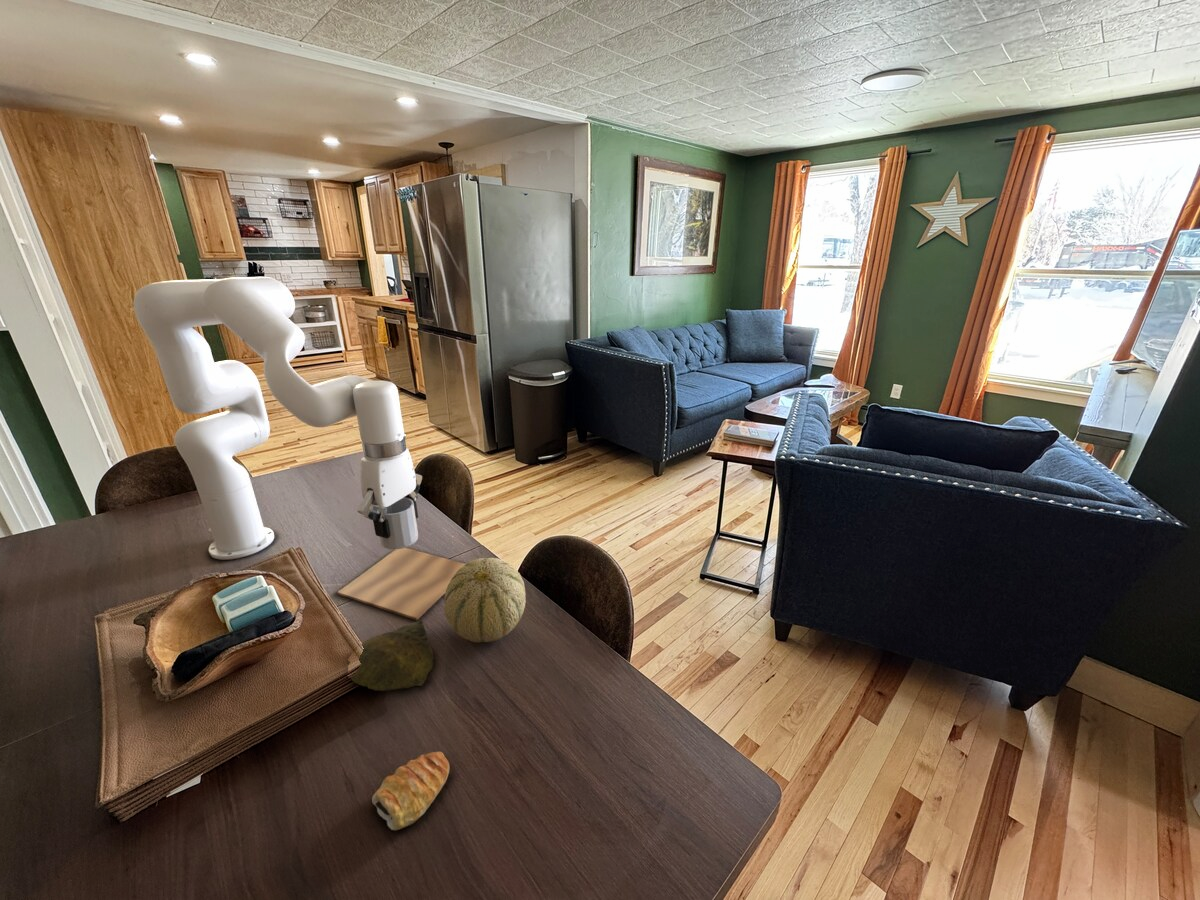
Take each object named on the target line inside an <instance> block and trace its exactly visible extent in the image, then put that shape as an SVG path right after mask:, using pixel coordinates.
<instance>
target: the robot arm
mask: <svg viewBox="0 0 1200 900" xmlns="http://www.w3.org/2000/svg"><path fill="white" fill-rule="evenodd" d="M295 309H296V301H295V298H294V296H293V293H292V292H291V291H290V290H289V288H288V287H287V286H286V285H285V284H284V283H282V282H281V281H280V280H277V279H275V278H273V277H269V276H247V277H246V276H244V277H228V278H220V279H219V278H215V279H179V280H178V279H177V280H165V281H164V280H163V281H158V282H157V281H156V282H151V283H149V284H145V285H144V286H142V287H140V288H139V289H138V290H137V291H136V293H135V294H134V298H133V312H134V315H135V318H136V320H137V322H138V324H139V326H140V327H141V329H142V331H143V333H144V334H145V335H146V337H147V339H148V340H149V342H150V344H151V345H152V347H153V350H154V352H155V355H156V358H157V362H158V365H159V368H160V370H161V374H162V377H163V380H164V383H165V386H166V389H167V391H168V394H169V397H170V399H171V402H172V404H173V405H174V407H175V408H176V409H177V410H178V411H179V412H181V413H184V414H186V415H199V414H200V415H201V414H205V413H208V412H212V411H216V410H219V409H223V408H227V407H228V409H229V410H225V411H221V412H218V413H214V414H210V415H207V416H203V417H201V418H197V419H193V420H191V421H189V422H187V423H185V424H183V425H182V426H181V427H179V428H178V429H177V430H176V432H175V434H174V436H173V437H174V438H173V439H174V445H175V447H176V449H177V451H178V453H179V455H180V456H181V458H182V459H183V461H184V463H185V464H186V466H187V468H188V470H189V472H190V474H191V477H192V479H193V482H194V484H195V487H196V490H197V493H198V496H199V499H200V502H201V505H202V508H203V510H204V511H203V512H204V514H205V517H206V520H207V523H208V526H209V528H208V530H207V532H208V533H210V534H211V535H212V537H213V541H212V543H211V544H210V545H209V547H208V553H209V555H210V557H212V558H213V559H216V560H222V561H223V560H225V561H226V560H228V561H229V560H236V559H241V558H245V557H248V556H251V555H254V554H256V553H258V552H260V551H262V550H264V549H265V548H267V547H269V546H270V545H271V544H272V543H273V541H274V539H275V533H274V531H273V530H272V529H271V528H269V527H266V526H265V525H264V523H263V519H262V516H261V512H260V508H259V506H258V502H257V498H256V495H255V491H254V487H253V484H252V480H251V478H250V475H249V472H248V470H247V469H246V468H245V467H244V466H243V465H241V464H239V463H238V462H236V460H234V459H233V457H235V456H236V455H239V454H240V453H243V452H245V451H247V450H250V449H253V448H255V447H258V446H260V445H262V444H264V443H265V442H266V441H267V440H268V439H269V437H270V433H271V426H270V421H269V417H268V413H267V408H266V405H265V400H264V396H263V393H262V387H261V385H260V382H259V378H257V375H256V374H255V372H254V371H253V370H252V369H251V368H250V367H249V366H248V365H247V364H246V363H244V362H242V361H239V360H234V359H226V360H220V361H216V362H215V360H214V357H213V354H212V349H211V346H210V344H209V342H207V340H206V339H205V337H203V336H202V334H200V333H199V332H198V331H197V330H196V329H194V328H196V327H197V328H198V327H205V326H216V325H222V324H223V325H224V326H225V327H226V328H227V329H229V330H230V331H231V332H232V333H233V334H234V335H235V336H236V337H238V338H239V340H241V341H242V342H243V343H244V344H245V345H247V346H248V347H249V348H250V349H251V350H252V351H253V352H254V353H256V354H257V355H258V356H259V357H260V358H261V359H262V360H263V374H264V378H265V382H266V384H267V386H268V388H269V391H270V393H271V395H272V396H273V397H274V399H275V401H277V402H278V403H279V404H280V405H281V406H282V407H283V408H284V409H286V410H287V411H288V412H289V413H290V414H291V415H293V416H294V417H295V418H297V419H298V420H299V421H300V422H302V423H304V424H305V425H307V426H310V427H312V428H313V427H314V428H326V427H330V426H332V425H335V424H338V423H340V422H342V421H344V420H347V419H351V418H353V417H356V420H357V425H358V430H359V435H360V440H361V441H360V442H361V446H362V451H363V457H361V458H360V468H359V477H360V486H361V495H362V501H361V503H360V504H359V506H358V508H357V513H358V514H360V515H361V516H362V517H364V518H366V519H369V520H370V521H372V522H373V528H374V535H375V536H376V537H379V538H380V537H383V538H387V539H388V538H389V537H390V530H389V524H388V520H386V519H385V516H386V512H387V507H388V506H390V505H392V504H393V503H395V502H397V501H398V500H400V499H402V498H403V497H405V498H410V499H411V500H413V503H414V509H415V516H416V520H417V519H418V518H419V511H418V505H417V501H418V499H419V495H418V493H419V491H420V488H421V486H420V485H421V483H422V480H423V475H422V474H419V473H416V471H415V468H414V467H415V466H414V463H413V459H412V456H411V453H410V450H409V447H407V444H406V443H407V442H406V438H407V434H406V433H405V429H404V423H403V416H402V408H401V403H400V396H399V390H398V387H397V386H396V384H395V383H393V382H392V381H389V380H373V379H369V378H367V377H363V376H359V375H356V374H355V375H354V374H347V375H344V376H343V375H342V376H340V377H337V378H332V379H328V380H325V381H321V382H318V383H314V384H310V383H309V382H308V381H306V380H305V379H304V378H303V377H302V376H301V375H300V374H298V372H296V370H295V369H294V368H293V367H292V365H291V363H290V362H292V361H293V360H294V359H295V358H296V357H297V356H298V355H299V354H300V353H301V351H302V349H303V348H304V346H305V343H306V334H305V333H304V331H303V330H302V328H300V327H299V326H298V325H297V324H296V323H294V322H293V321H292V320H291V319H290V318H291V317H292V316H293V315H294V313H295ZM378 503H379V504H378ZM378 508H380V513H379V514H377V510H378Z"/></svg>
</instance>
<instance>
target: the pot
mask: <svg viewBox="0 0 1200 900" xmlns="http://www.w3.org/2000/svg"><path fill="white" fill-rule="evenodd" d="M378 504H379V503H378ZM379 513H380V508H378V510H377V514H379ZM385 519H386V520H388V524H389V530H390V537H389V538H388V539H387V538H383V537H379V541H380V545H381V546H382V547H383V548H384V549H387V550H396V549H401V548H408V547H410V546H412V545H414V544H415V543H416V542H417V541H418V539H419V531H418V524H417V523H418V522H417V519H416V516H415V509H414V503H413V500H411V499H410V498H405V497H403V498H402V499H400V500H398V501H397V502H395V503H393V504H392V505H390V506H388V507H387V512H386V516H385Z"/></svg>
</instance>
